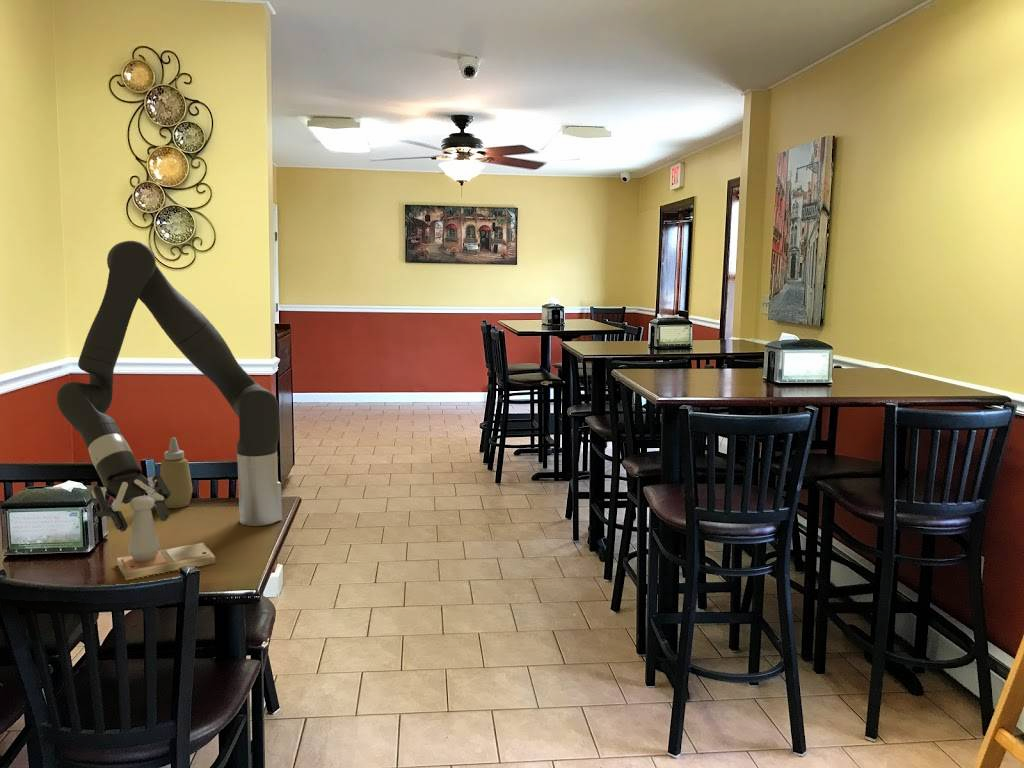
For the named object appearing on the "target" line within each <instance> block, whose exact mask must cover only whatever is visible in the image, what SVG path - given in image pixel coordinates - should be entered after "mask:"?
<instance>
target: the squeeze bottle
mask: <svg viewBox="0 0 1024 768" xmlns="http://www.w3.org/2000/svg"><path fill="white" fill-rule="evenodd" d="M169 441H170V442H169V446H168V450H166V451H164V453H163V456H164V457H163V458H164V459H163V460H162V461H161V462H160V469H159V470H160V471H159V472H160V473H159V475H160V476H161V478H162V479H163V481H164V483H165V484H166V486H167V488H168V489H169V491H170V493H171V495H170V497H169V498H168V500H167V502H165V504H166V506H167V508H168V509H178V508H184V507H187V506H189V504H190V500H191V499H192V495H193V491H194V490H193V488H194V487H193V483H192V478H191V470H190V465H189V460H188V459H186V458H185V451H184V450H183V449H180V448H179V445H178V440H177V437H170V439H169Z"/></svg>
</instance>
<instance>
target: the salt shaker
mask: <svg viewBox="0 0 1024 768" xmlns="http://www.w3.org/2000/svg"><path fill="white" fill-rule="evenodd" d="M129 506H130V510H131V511H133V517H132V522H131V524H132V525H131V531H130V536H129V537H130V538H129V542H128V553H129V555H130V556H132V557H133V559H134V561H135V562H146V561H151V560H153V559H154V558H155V557H156V555H157V553H158V551H159V549H160V546H161V545H160V541H159V537H158V533H157V528H156V524H155V520H154V517H153V512H152V509H153V508H154V501H153V498H151V497H150V496H148V495H147V496H139V497H135V498H133V499H132V500H131V502H130V503H129Z"/></svg>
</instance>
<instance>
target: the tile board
mask: <svg viewBox="0 0 1024 768" xmlns="http://www.w3.org/2000/svg"><path fill="white" fill-rule="evenodd" d="M116 561H117V562H116V563H117V566H119V567H118V569H119V570H120V572H121V571H122V572H121V574H122V573H123V574H122V576H123V575H124V576H125V578H126V579H127V578H132V577H138V576H142V575H147V574H153V573H161V572H168V571H173V570H178V569H179V567H181V566H197V567H196V568H198V567H202V566H208V565H213V564H216V556H215V555H214V554H213V552H212V551H211V550H210V549H209V548H208V547H207V545H205V543H204V542H200V543H194V544H188V545H187V544H186V545H181V546H177V547H172V548H165V549H160V550H158V553H157V555H156V557H155V558H154V559H153V560H151V561H146V562H135V561H134V559H133V557H132V556H131V555H127V556H121V557H117V560H116ZM178 571H179V570H178ZM173 572H174V571H173ZM168 573H169V572H168ZM124 576H123V577H124ZM125 578H124V579H125Z"/></svg>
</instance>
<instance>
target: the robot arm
mask: <svg viewBox="0 0 1024 768" xmlns="http://www.w3.org/2000/svg"><path fill="white" fill-rule="evenodd" d="M106 265H107V268H108V270H109V272H108V277H107V282H106V283H107V284H106V289H105V292H104V295H103V298H102V302H101V304H100V306H99V309H98V311H97V312H96V314H95V317H94V319H93V321H92V324H91V326H90V328H89V330H88V333H87V336H86V338H85V341H84V343H83V347H82V350H81V352H80V354H79V358H78V362H77V366H78V368H79V369H80V370H81V371H83V372H85V373H87V374H88V375H89V383H85V382H80V381H69V382H67V383H64V384H62V386H60V387H59V389H58V392H57V395H56V403H57V407H58V409H59V411H60V413H61V415H63V417H64V418H65V419H66V421H67V422H68V423H69V424H70V425H71V426H72V427H73V429H74V430H75V431H77V433H79V434H80V436H81V438H82V440H83V443H84V444H85V446H86V448H87V450H88V452H89V457H90V460H91V462H92V466H94V468H95V470H96V472H97V475H98V477H99V478H100V480H101V483H102V485H103V486H102V487H101V486H99V485H95V486H94V487H93V489H92V491H91V493H90V498H91V500H92V503H93V504H94V507H95V508H94V509H95V510H96V513H97V515H98V517H100V518H103V517H109V518H111V520H112V522H113V524H114V526H115V528H116V529H117V530H118V531H120V532H121V533H123V532H126V530H128V526H129V525H128V523H127V521H126V519H125V517H124V515H123V512H122V511H121V510H120V507H121V505H122V504H125V505H126V504H130V502H131V500H132V499H133V498H135V497H139V496H150V497H151V498H153V501H154V506H155V507H154V506H153V507H154V508H155V511H156V512H157V515H158V517H159V519H160V521H161V522H167V520H168V518H169V516H170V510H169V508H167V506H166V504H165V502H167V500H168V498H169V497H170V495H171V493H170V491H169V489H168V488H167V486H166V484H165V483H164V481H163V479H162V478H161V476H160V473H155V474H154V476H151V477H146V476H144V475H143V472H142V469H141V466H140V465H139V462H138V461H137V458H136V457H135V454H134V453H133V451H132V449H131V447H130V445H129V442H127V440H126V439H125V438H124V436H123V434H122V432H121V429H120V428H119V426H118V425H117V422H116V421H115V420H114V418H113V417H111V416H110V415H109V414H106V412H107V411H108V410H109V409H110V407H111V405H112V402H113V396H114V394H113V393H114V392H113V391H114V373H115V372H114V370H115V367H116V364H117V361H118V358H119V355H120V353H121V349H122V346H123V343H124V341H125V337H126V333H127V329H128V327H129V324H130V320H131V318H132V315H133V312H134V309H135V307H136V305H137V303H138V300H139V301H141V302H142V304H143V305H144V306H145V307H146V308H147V309H148V310H149V312H150V314H151V315H152V317H153V318H154V319H155V321H156V322H157V323H158V325H159V327H161V329H162V330H163V332H164V334H166V336H167V337H168V338H169V339H170V341H171V343H173V345H174V346H176V347H175V348H177V349H178V350H179V351H180V353H182V355H184V356H185V358H186V359H187V360H188V361H189V362H190V363H191V364H192V365H193V366H194V367H195V368H197V370H198V371H199V372H201V373H202V374H203V375H204V376H205V377H206V378H207V379H209V381H211V383H213V384H214V386H215V387H216V388H217V389H218V390H219V392H220V393H221V394H222V396H223V397H224V399H225V400H226V401H227V403H228V404H229V406H230V407H231V408H232V410H233V412H234V414H236V416H237V417H238V420H239V421H238V424H239V429H238V430H239V436H238V441H237V443H236V455H237V477H238V479H237V483H238V507H239V512H238V513H239V523H240V524H242V525H243V526H249V527H259V526H266V525H272V524H275V523H276V522H279V521H282V520H283V511H282V510H283V509H282V507H283V505H282V484H281V482H280V481H279V475H278V474H279V470H278V465H279V464H278V443H279V440H280V439H279V438H280V410H279V409H280V407H279V403H278V400H277V399H278V398H277V397H276V396H275V395H274V393H273V392H271V391H270V390H268V389H266V388H264V387H263V386H261V385H260V384H259V383H258V382H256V381H255V379H254V378H253V377H251V376H250V375H249V374H248V373H247V371H245V370H244V368H243V367H242V366H241V365H240V364H239V363H238V361H237V359H236V357H235V356H234V355H233V352H232V349H230V347H229V345H228V343H227V342H226V340H225V339H224V338H223V337H222V335H221V333H220V332H219V331H218V329H217V328H216V327H215V326H214V325H213V324H212V322H210V320H209V319H208V318H207V317H206V316H205V315H204V314H203V313H202V311H201V310H200V309H198V308H197V307H196V306H195V305H194V304H193V303H192V302H191V301H189V299H187V298H186V297H185V296H184V295H182V293H180V292H179V291H178V290H177V289H176V288H175V287H174V286H173V285H172V283H170V281H169V280H168V278H167V277H166V276H165V275H164V273H163V272H162V271H161V269H160V268H159V267H158V265H157V261H156V257H155V254H154V252H153V250H152V249H151V248H150V247H149V246H148V245H146V244H144V243H142V242H140V241H137V240H136V241H135V240H125V241H121V242H119V243H116V244H115V245H113V246H112V247H111V249H109V251H108V253H107V259H106ZM146 493H147V494H146ZM106 495H107V496H109V497H111V498H112V499H113V502H112V504H111V506H109V505H108V503H107V501H106V498H105V496H106Z"/></svg>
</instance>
